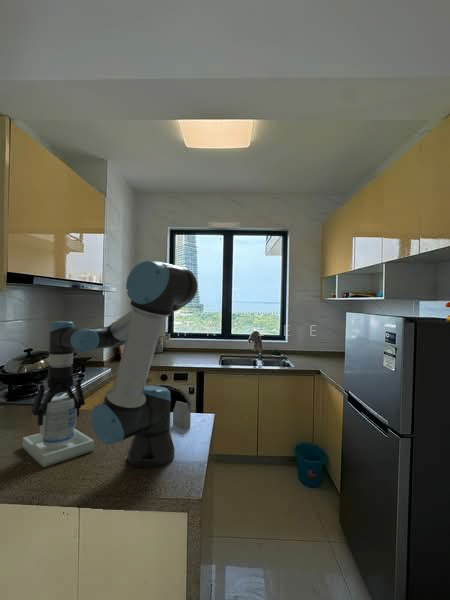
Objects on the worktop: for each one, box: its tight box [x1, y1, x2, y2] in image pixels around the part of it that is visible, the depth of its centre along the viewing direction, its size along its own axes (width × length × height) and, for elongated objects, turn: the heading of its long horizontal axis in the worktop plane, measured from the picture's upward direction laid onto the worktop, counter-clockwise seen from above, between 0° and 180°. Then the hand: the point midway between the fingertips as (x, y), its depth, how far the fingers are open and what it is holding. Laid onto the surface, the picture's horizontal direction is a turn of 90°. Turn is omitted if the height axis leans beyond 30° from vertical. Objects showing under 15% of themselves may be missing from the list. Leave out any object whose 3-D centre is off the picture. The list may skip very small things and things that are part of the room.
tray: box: [22, 427, 95, 468], centre depth 110 cm, size 20×16×4 cm
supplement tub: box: [43, 395, 75, 447], centre depth 110 cm, size 10×10×15 cm
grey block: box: [172, 400, 192, 430], centre depth 133 cm, size 4×7×10 cm, turn 53°
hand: (58, 430), depth 110 cm, fingers closed on supplement tub, 9 cm apart
